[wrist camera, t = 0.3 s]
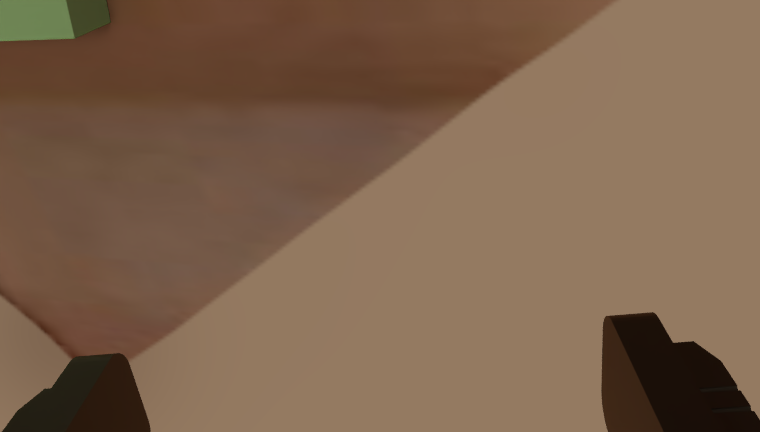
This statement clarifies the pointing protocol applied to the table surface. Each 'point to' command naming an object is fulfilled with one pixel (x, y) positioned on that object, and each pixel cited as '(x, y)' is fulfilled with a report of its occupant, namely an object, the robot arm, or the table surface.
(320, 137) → the table surface
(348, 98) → the table surface
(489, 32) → the table surface
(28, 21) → the green flat block
